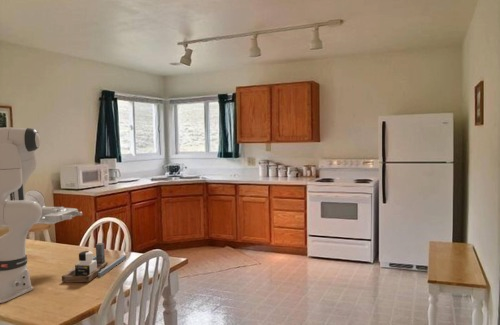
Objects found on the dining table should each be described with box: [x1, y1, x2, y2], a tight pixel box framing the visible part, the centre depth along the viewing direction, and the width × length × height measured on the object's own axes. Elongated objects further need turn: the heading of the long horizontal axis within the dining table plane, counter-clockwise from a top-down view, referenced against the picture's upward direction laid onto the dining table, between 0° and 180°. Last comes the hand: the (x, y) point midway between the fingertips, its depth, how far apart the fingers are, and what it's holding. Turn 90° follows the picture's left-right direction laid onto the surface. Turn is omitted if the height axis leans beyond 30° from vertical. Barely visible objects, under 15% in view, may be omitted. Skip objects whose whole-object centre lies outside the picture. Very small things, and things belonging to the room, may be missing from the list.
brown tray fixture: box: [61, 242, 109, 283], centre depth 190 cm, size 26×12×11 cm, turn 174°
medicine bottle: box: [74, 250, 97, 276], centre depth 184 cm, size 7×7×12 cm
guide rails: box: [68, 254, 127, 278], centre depth 200 cm, size 29×16×2 cm, turn 174°
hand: (76, 215), depth 201 cm, fingers open, 8 cm apart
